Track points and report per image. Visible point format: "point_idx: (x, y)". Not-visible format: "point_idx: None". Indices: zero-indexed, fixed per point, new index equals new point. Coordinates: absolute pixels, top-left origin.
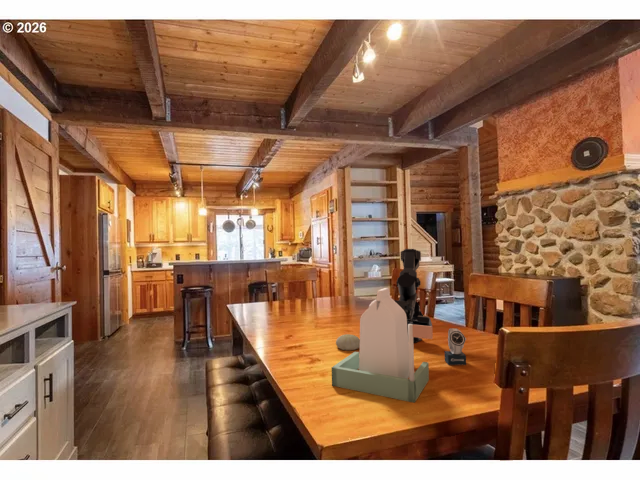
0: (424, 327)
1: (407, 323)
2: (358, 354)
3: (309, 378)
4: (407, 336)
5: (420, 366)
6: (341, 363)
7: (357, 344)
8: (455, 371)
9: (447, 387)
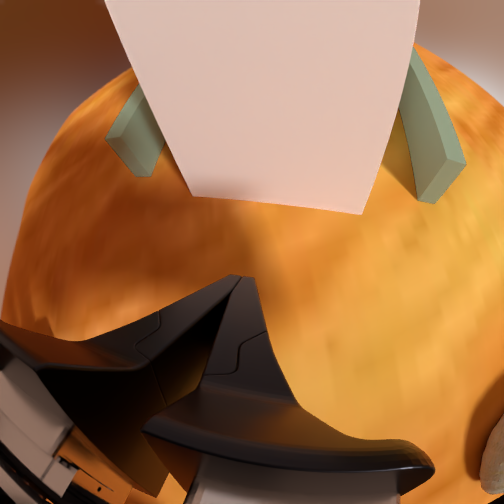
0: None
1: (5, 323)
2: (441, 156)
3: (466, 106)
4: (130, 46)
5: (142, 95)
6: (411, 58)
7: (500, 438)
8: (52, 288)
9: (102, 153)
